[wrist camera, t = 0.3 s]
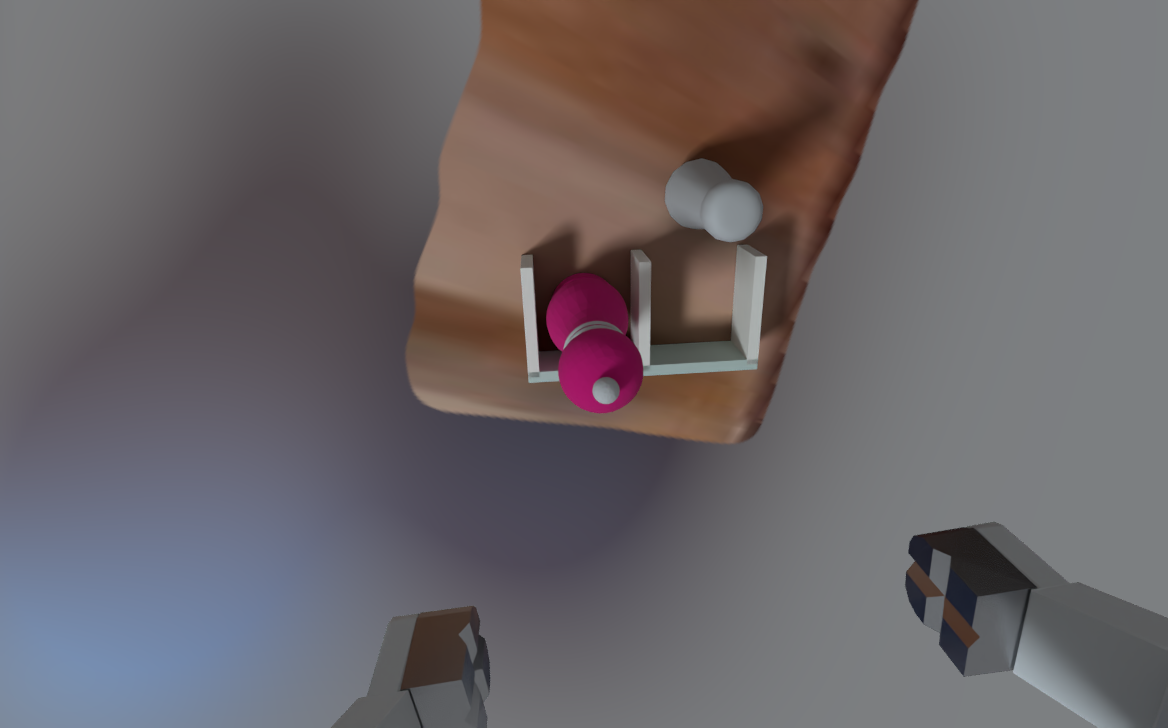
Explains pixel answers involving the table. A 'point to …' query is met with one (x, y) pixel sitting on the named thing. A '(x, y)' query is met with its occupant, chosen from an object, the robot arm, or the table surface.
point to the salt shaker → (713, 201)
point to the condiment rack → (654, 357)
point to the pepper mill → (593, 344)
